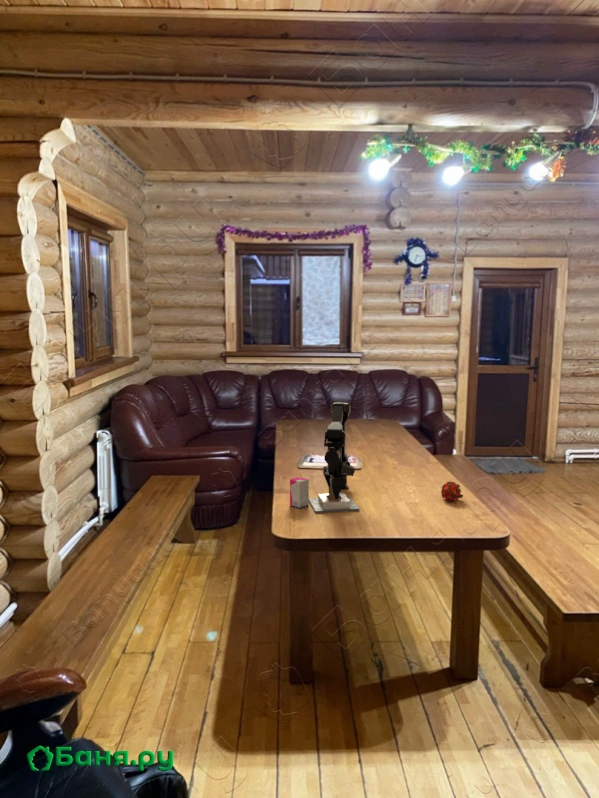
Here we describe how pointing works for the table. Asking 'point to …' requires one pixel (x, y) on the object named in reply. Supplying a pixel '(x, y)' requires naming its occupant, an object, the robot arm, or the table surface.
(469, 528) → the table surface
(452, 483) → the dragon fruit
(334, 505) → the jig
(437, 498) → the table surface
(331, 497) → the walnut dowel
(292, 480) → the supplement box
